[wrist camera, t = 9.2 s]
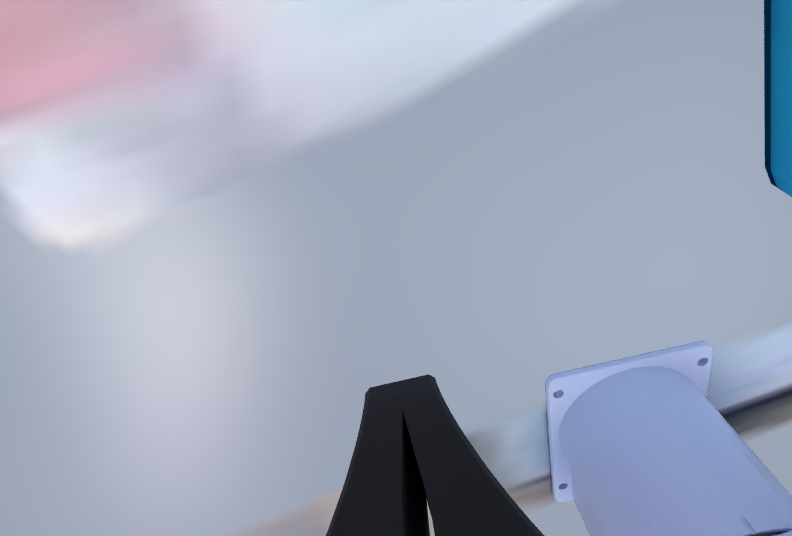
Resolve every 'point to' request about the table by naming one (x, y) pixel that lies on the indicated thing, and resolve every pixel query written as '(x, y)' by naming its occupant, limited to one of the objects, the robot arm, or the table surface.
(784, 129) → the ice cube tray
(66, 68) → the table surface
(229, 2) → the table surface
